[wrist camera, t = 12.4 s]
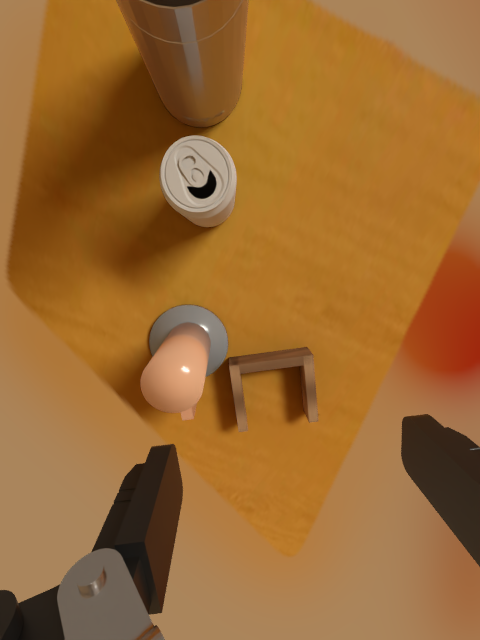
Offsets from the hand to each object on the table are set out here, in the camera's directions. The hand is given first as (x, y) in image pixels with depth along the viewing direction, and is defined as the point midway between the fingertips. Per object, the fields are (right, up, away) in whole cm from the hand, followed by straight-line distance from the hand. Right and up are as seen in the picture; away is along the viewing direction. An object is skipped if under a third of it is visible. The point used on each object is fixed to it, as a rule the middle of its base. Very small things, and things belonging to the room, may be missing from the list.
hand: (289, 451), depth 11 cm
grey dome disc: (-8, +2, +29) cm, 30 cm away
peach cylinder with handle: (-8, 0, +28) cm, 30 cm away
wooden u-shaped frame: (+3, -5, +31) cm, 31 cm away
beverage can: (-6, +19, +25) cm, 32 cm away
